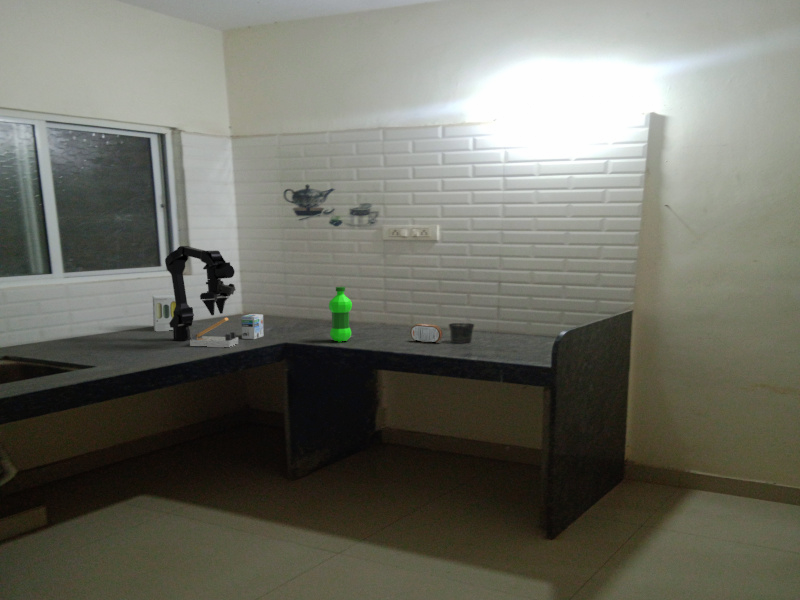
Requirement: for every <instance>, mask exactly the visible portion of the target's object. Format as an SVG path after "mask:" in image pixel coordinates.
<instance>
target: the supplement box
mask: <svg viewBox="0 0 800 600" xmlns="http://www.w3.org/2000/svg"><path fill="white" fill-rule="evenodd" d="M175 307H176V302H175V295H174V294H154V295H153V294H152V311H153V312H152V317H153V331H154V332H155V331H156V332H170V331H169V330H173V328H171V327H170V324H169V323H170V321H171V320H172V318H173V317H174V315H173V312H174V309H175Z"/></svg>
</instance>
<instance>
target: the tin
mask: <svg viewBox="0 0 800 600" xmlns="http://www.w3.org/2000/svg"><path fill="white" fill-rule="evenodd" d="M409 334H410V337H411V339H412V340H413V341H414V340H419V341H432V342H436V343H438V341H439V342H440V341H441V340H442V338H443V330H442V329H441V327H440V326H439V325H437V324H430V323H416V324H415V325H413V326H412V327H411V329H410V333H409Z"/></svg>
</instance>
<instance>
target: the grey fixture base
mask: <svg viewBox="0 0 800 600" xmlns="http://www.w3.org/2000/svg"><path fill="white" fill-rule="evenodd" d="M200 332H201V331H200ZM200 332H199V331H198V332H197V333H196V334H195V333H193V334H192V335H191V339H189V346H207V347H206V348H224V347H230V346H232V347H234V346H236V345H235V344H237V345H239V336H236V332H234V331H230V332H229V333H225V336H211V335H209V336H205V335H202V336H200V337H198V338H197V334H199V333H200ZM233 345H234V346H233ZM230 348H231V347H230Z"/></svg>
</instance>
